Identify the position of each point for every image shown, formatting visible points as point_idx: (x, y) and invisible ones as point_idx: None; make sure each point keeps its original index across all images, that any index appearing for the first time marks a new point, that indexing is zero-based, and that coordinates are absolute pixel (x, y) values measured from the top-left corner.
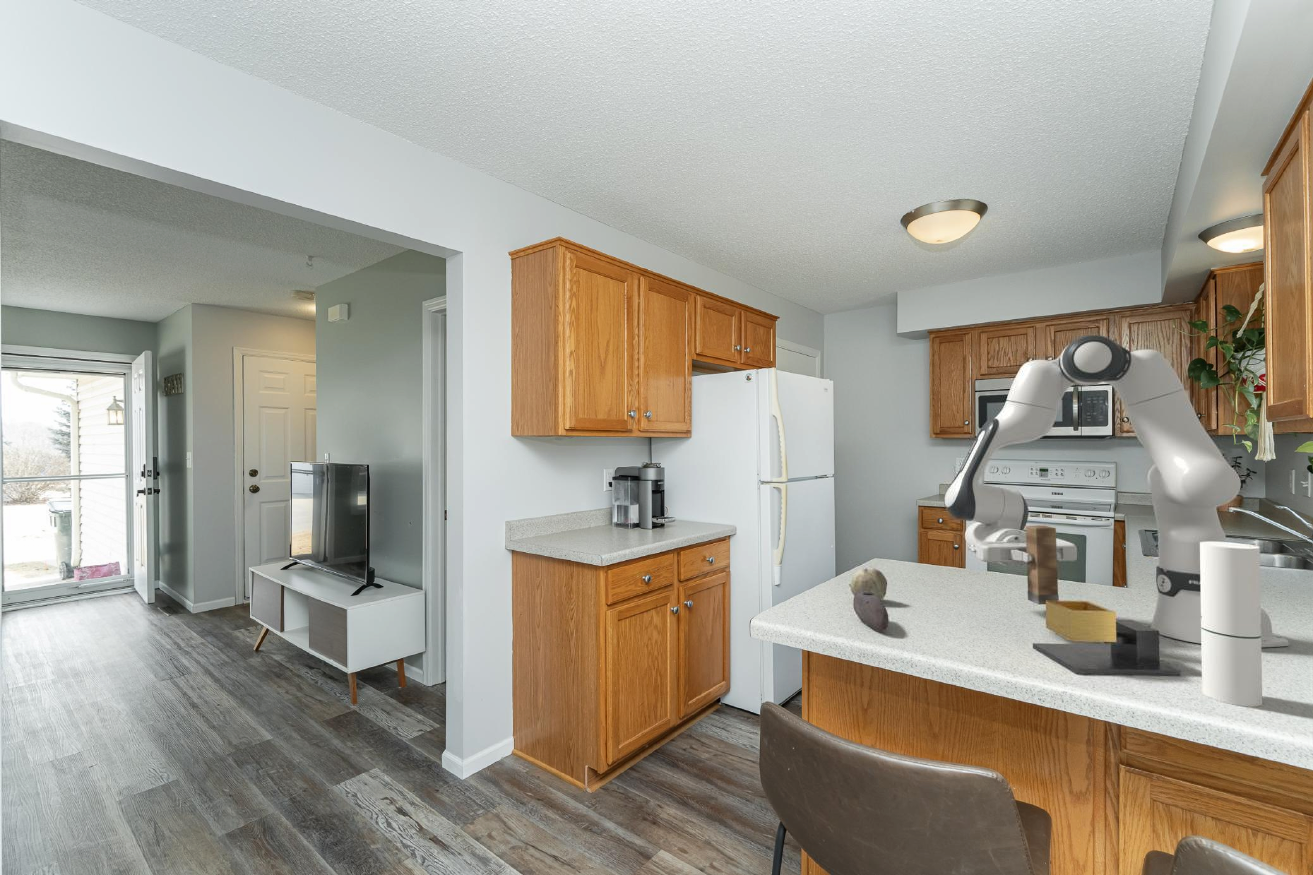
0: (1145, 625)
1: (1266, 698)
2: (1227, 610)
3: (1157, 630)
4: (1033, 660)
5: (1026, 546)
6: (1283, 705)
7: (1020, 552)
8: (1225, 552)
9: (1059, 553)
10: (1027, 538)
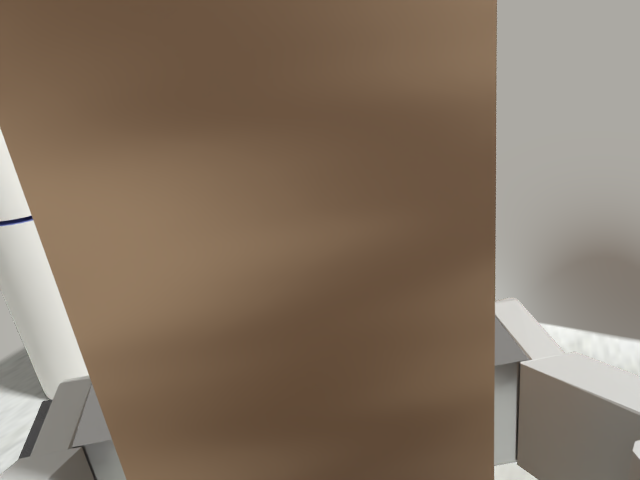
0: (22, 453)
1: (19, 383)
2: None
3: (45, 402)
4: (513, 474)
5: (493, 349)
6: (28, 360)
7: (597, 362)
8: None
9: (66, 379)
10: (472, 176)
